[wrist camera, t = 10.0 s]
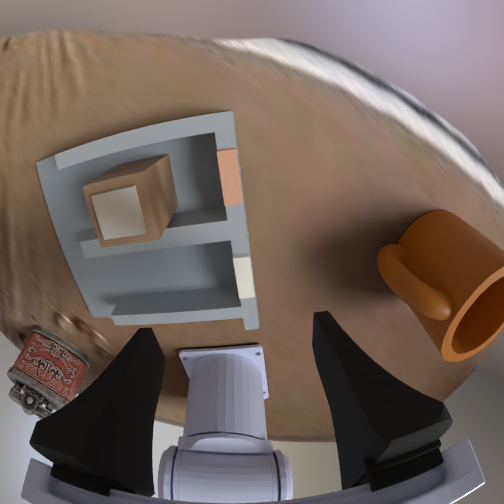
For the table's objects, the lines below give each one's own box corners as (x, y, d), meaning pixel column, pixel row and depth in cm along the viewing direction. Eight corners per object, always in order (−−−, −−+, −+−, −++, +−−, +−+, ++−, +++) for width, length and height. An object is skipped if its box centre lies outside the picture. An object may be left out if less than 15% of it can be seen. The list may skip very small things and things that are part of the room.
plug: (178, 205, 18) (158, 242, 13) (130, 213, 18) (99, 250, 13) (168, 153, 16) (141, 172, 12) (119, 164, 16) (79, 188, 12)
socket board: (256, 300, 23) (259, 332, 20) (96, 312, 23) (81, 339, 20) (233, 110, 16) (231, 111, 13) (41, 160, 16) (12, 173, 13)
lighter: (34, 335, 25) (-1, 397, 16) (35, 320, 24) (-5, 385, 15) (88, 368, 28) (63, 436, 19) (93, 355, 26) (65, 429, 17)
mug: (396, 173, 18) (480, 221, 10) (474, 230, 21) (535, 279, 13) (342, 273, 22) (388, 356, 14) (429, 304, 25) (474, 364, 17)
